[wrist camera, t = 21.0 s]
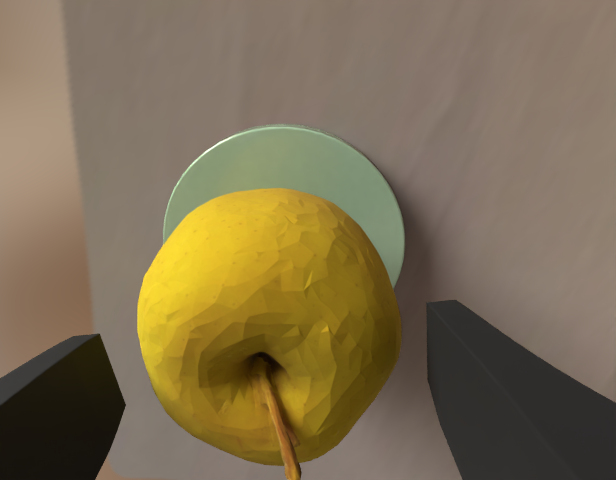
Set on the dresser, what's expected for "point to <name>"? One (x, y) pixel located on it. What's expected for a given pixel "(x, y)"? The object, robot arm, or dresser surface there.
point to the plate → (296, 181)
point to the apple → (268, 325)
